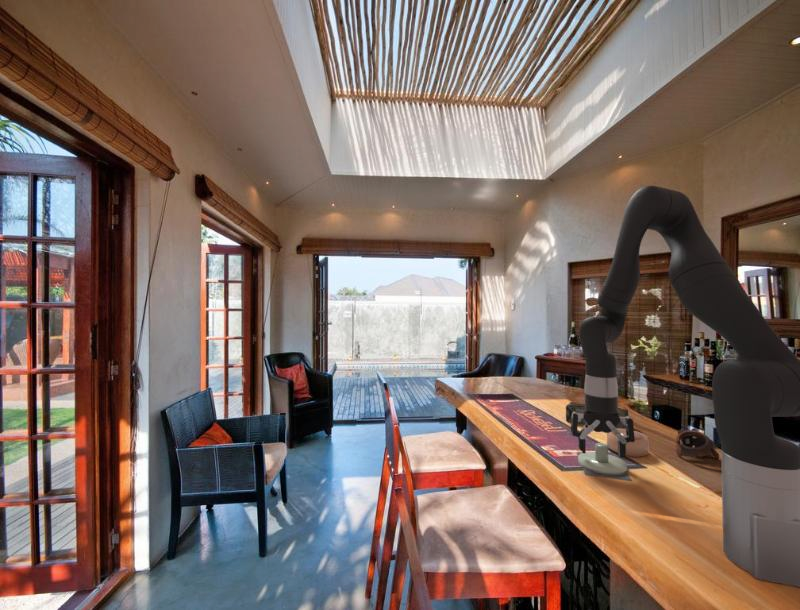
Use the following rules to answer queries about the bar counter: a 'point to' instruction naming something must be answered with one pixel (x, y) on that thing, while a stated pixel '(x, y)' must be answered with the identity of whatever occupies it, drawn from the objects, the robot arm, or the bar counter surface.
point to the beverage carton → (581, 409)
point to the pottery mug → (695, 444)
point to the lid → (602, 461)
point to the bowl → (629, 443)
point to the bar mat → (621, 477)
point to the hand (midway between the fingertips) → (601, 454)
